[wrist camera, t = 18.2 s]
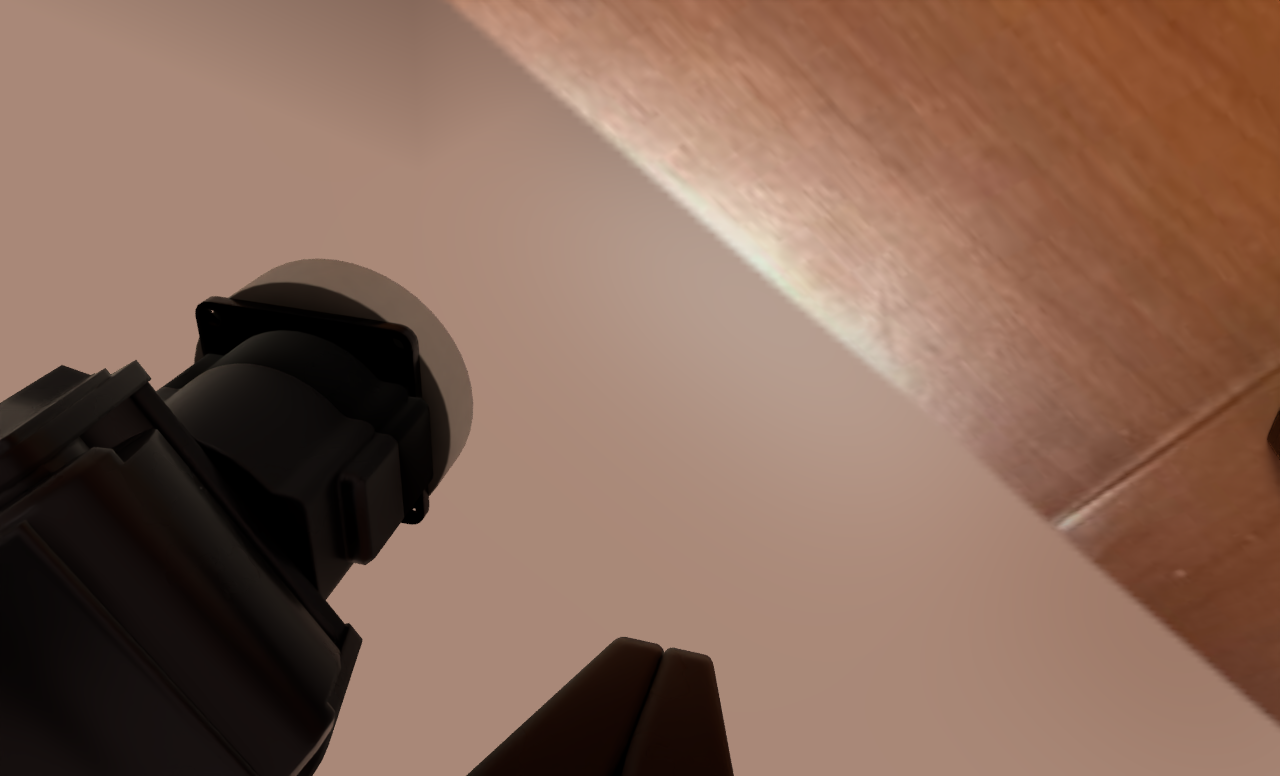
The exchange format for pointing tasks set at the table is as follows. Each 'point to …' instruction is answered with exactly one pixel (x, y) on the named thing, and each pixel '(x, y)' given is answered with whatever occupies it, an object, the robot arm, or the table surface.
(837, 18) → the table surface
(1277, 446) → the button housing
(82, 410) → the robot arm
